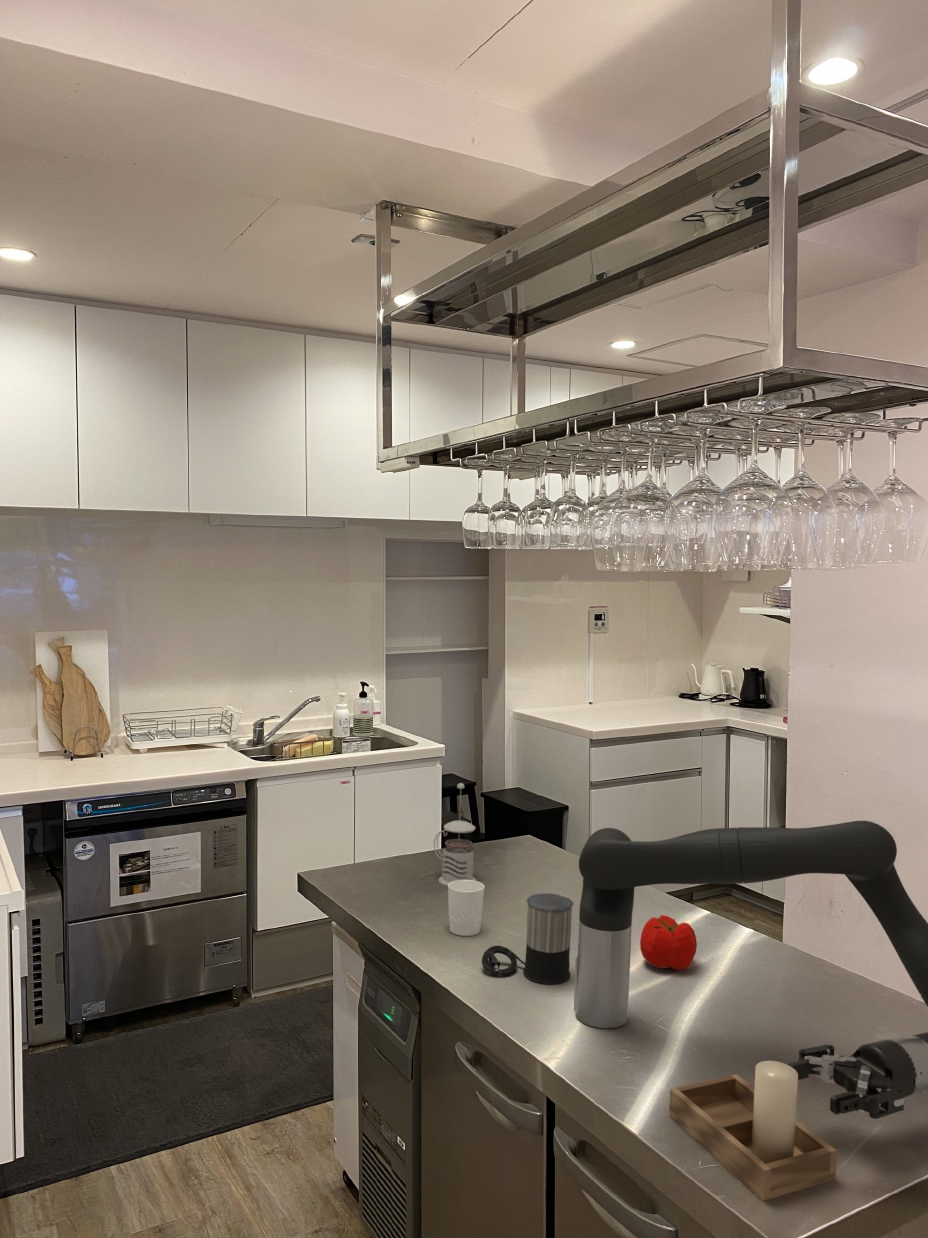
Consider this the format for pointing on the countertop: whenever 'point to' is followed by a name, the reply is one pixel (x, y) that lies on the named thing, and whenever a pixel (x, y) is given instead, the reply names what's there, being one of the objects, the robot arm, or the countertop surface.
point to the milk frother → (541, 941)
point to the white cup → (465, 907)
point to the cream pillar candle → (774, 1111)
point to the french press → (459, 870)
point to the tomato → (668, 943)
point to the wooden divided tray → (748, 1138)
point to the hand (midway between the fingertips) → (808, 1089)
